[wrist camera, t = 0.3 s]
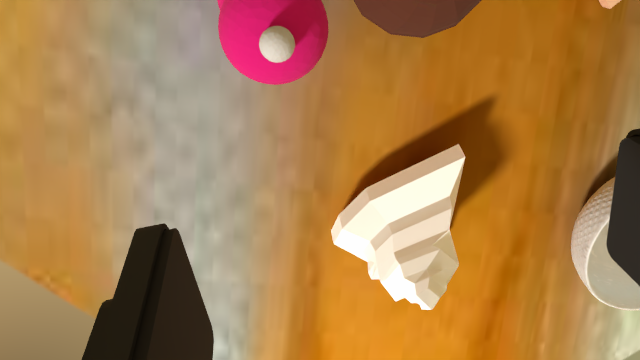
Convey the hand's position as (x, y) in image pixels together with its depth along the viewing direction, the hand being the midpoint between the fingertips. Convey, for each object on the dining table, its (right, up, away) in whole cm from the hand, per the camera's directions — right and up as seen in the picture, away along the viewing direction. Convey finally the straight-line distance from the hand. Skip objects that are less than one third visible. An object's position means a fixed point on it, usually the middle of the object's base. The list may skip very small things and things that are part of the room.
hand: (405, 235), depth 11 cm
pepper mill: (-6, +17, +32) cm, 37 cm away
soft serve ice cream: (+6, -1, +44) cm, 44 cm away
